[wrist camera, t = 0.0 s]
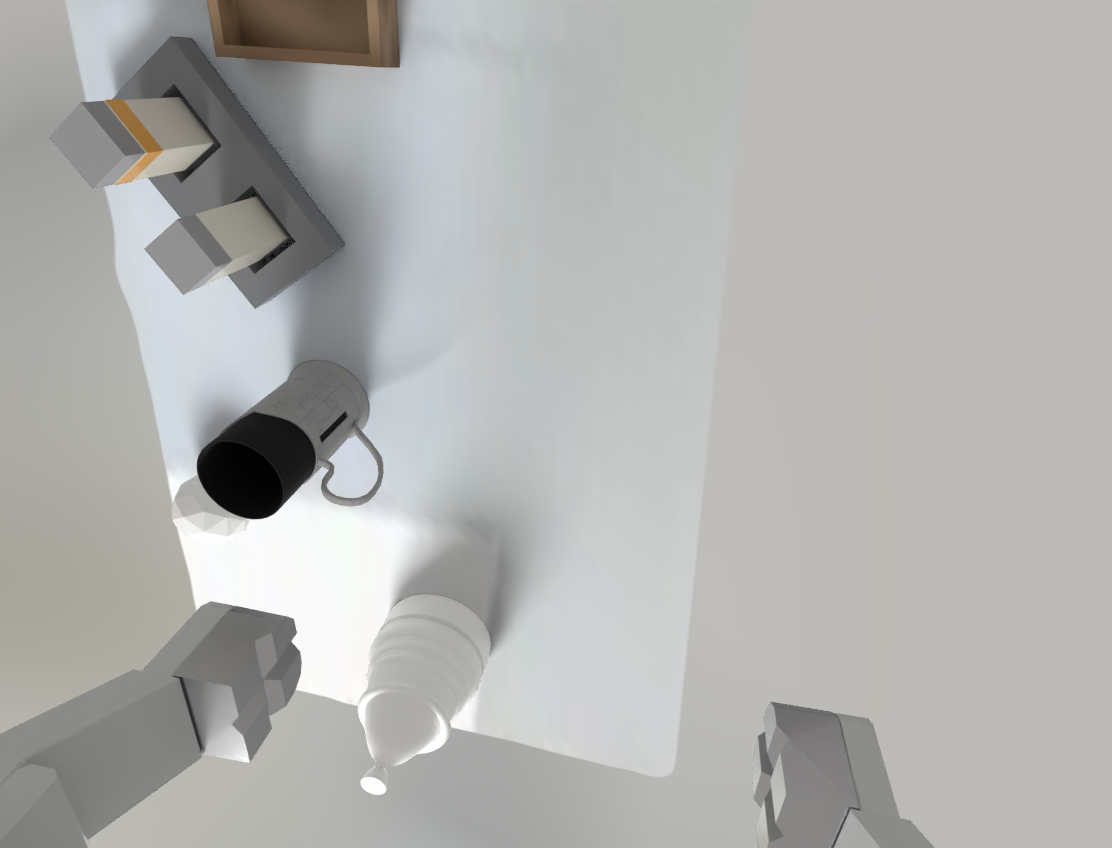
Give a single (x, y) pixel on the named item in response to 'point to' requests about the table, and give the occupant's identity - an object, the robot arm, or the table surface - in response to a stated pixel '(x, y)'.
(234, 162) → the fuse block
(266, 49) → the tray
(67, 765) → the robot arm
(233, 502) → the grey mug
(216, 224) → the block
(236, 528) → the ball
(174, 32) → the table surface
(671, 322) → the table surface
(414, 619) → the honey pot
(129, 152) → the block
